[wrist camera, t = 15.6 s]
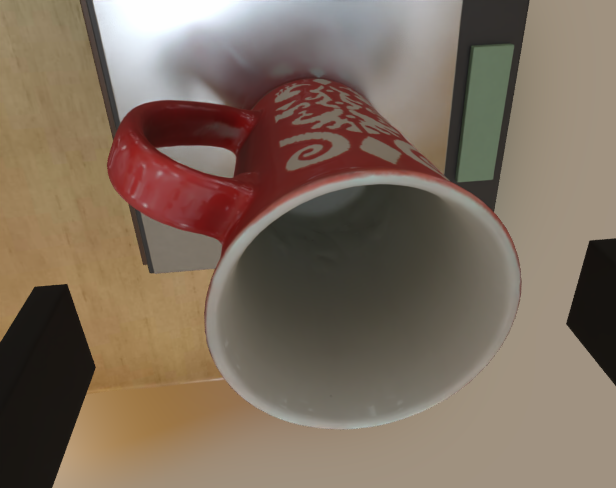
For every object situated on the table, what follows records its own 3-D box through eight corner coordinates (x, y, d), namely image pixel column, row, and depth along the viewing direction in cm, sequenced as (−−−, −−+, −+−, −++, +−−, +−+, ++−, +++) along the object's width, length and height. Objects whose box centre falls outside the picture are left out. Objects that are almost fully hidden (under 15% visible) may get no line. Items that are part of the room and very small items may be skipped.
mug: (439, 123, 26) (591, 276, 14) (334, 255, 29) (388, 464, 18) (215, -39, 21) (176, -5, 10) (121, 140, 25) (10, 319, 13)
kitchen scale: (515, -67, 25) (550, -66, 22) (472, 224, 33) (494, 252, 30) (90, -48, 24) (68, -45, 21) (156, 250, 32) (146, 282, 29)
